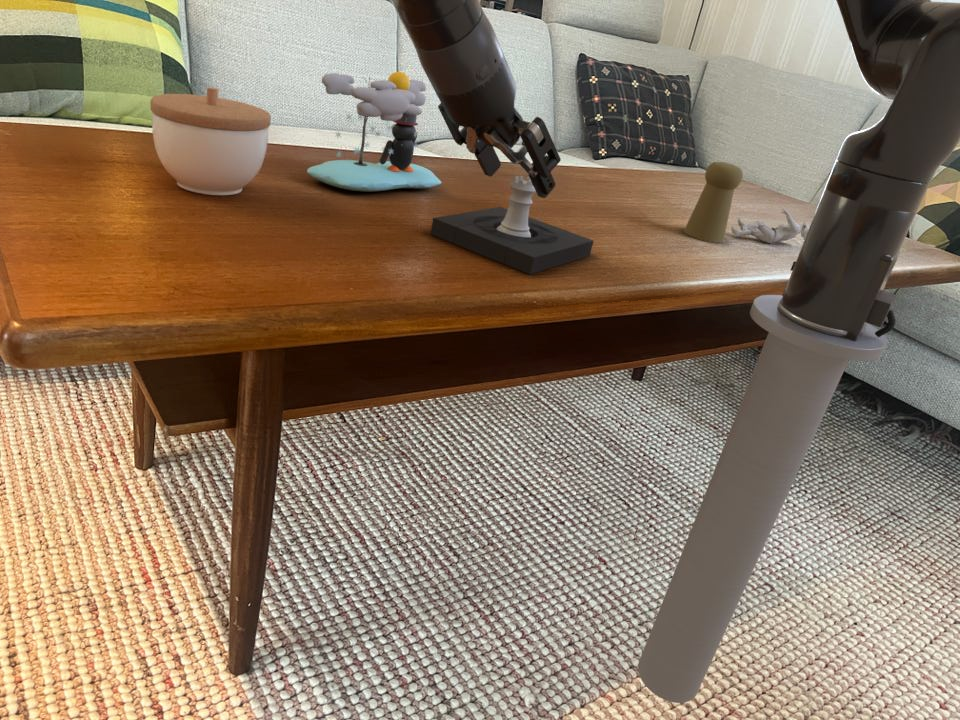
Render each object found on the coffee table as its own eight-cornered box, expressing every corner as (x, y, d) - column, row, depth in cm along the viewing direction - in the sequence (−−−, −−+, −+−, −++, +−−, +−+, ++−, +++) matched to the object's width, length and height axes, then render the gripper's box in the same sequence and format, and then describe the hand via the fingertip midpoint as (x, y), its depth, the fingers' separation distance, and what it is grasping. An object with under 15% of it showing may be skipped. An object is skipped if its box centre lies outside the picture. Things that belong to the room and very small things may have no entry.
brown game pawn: (682, 235, 108) (706, 161, 104) (685, 226, 114) (707, 156, 109) (723, 245, 107) (749, 171, 102) (723, 237, 112) (748, 165, 108)
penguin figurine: (408, 173, 111) (424, 68, 104) (455, 194, 104) (474, 83, 98) (292, 174, 97) (301, 53, 91) (336, 198, 91) (349, 70, 84)
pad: (589, 256, 89) (594, 240, 88) (529, 275, 78) (533, 257, 77) (497, 221, 95) (500, 206, 95) (430, 234, 85) (432, 217, 84)
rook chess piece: (515, 254, 84) (530, 185, 80) (485, 242, 86) (498, 174, 83) (536, 249, 87) (551, 183, 84) (506, 237, 89) (520, 172, 86)
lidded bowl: (205, 208, 78) (207, 101, 73) (126, 176, 82) (123, 74, 78) (288, 195, 88) (295, 100, 83) (214, 168, 93) (216, 77, 88)
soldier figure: (722, 235, 118) (788, 220, 120) (732, 262, 116) (799, 247, 118) (742, 212, 110) (813, 196, 112) (754, 240, 109) (825, 224, 111)
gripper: (543, 51, 67) (587, 175, 79) (442, 26, 75) (497, 142, 88) (491, 108, 65) (545, 225, 78) (394, 76, 74) (457, 186, 86)
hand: (519, 181), depth 83 cm, fingers open, 8 cm apart
